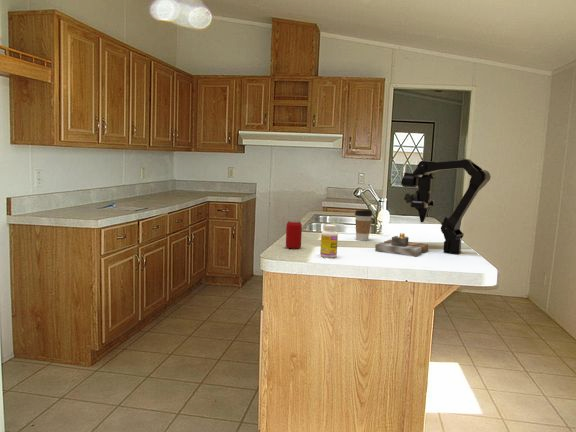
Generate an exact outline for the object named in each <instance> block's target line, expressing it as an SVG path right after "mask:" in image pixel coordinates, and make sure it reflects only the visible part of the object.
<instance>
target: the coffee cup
mask: <svg viewBox="0 0 576 432" xmlns="http://www.w3.org/2000/svg"><path fill="white" fill-rule="evenodd" d="M372 212H373V211H372V210H371V209H359V210H358V209H357V210H355V213H354V216H355V238H356V239H355V240H356V241H360V242H368V241H369V237H370V231H371V230H370V229H371V223H372V217H373V213H372Z"/></svg>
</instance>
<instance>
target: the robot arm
mask: <svg viewBox="0 0 576 432" xmlns="http://www.w3.org/2000/svg"><path fill="white" fill-rule="evenodd" d="M457 169H464V170H465V172H466V173H467V174H468V175H469V176H470V179H469V182H468V187H467V189H466V191H465V193H464V195H463V196H462V198H461V199H460V201H459V202H458V205H457V206H456V207H455V209H454V211H453V213H452V214H451V215H449V216H445V217H444V219H443V221H442V223H440V225H441V226H440V232H441V233H442V234H443V237H444V241H443V248H442V249H443V253H447V254H454V255H460V254H461V253H462V239H463V237H464V232H462V230H461V229H460V227H461V225H462V219H463V217H464V216H465V214H466V213H467V211H468V209H469V208H470V206H471V205H472V203H473V201H474V199H475V198H476V196H477V195H478V193H479V192H480V191H481V190H482V188H484V187H485V186H486V185H487V184H488V182H489V181H490V180H491V173H490V172H489V171H488V170H486V169H483V168H482V167H480V166H479V165H477V163H474V162H473V161H472V159H470V158H463V159H457V160H447V161H446V160H443V161H433V160H432V161H431V160H421V161H419V162H418V164H417V166H416V169H414V171H413V172H404V173H403V176H402V178H401V182H400V183H401V186H402V187H403V188H414V189H415V188H417V190H416V191H415V193H413V194H411V193H410V192H409V193H408V192H407V193H405V196H404V198H403V200H404V201H405V203H406V204H410V208H415V209H416V211H418V215H419V220H420V223H424V222H425V220H426V218H427V216H428V214H429V213H430V210H431V209H432V207H435V206H436V201H435V200H434V199H431V194H432V193H433V191H432V190H431V188H432V180H434V179H435V180H436V179H437V177H436V176H435V175H434V174H433V173H435V172H439V171H444V170H457ZM431 206H432V207H431Z"/></svg>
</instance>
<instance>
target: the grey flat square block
mask: <svg viewBox="0 0 576 432" xmlns="http://www.w3.org/2000/svg"><path fill="white" fill-rule="evenodd" d="M397 237H399V236H398V235H395V236H392V237H391V239H388V240H385V241H381V242H379V243H376V244H375V249H374V251H375V252H377V253H384V254H385V253H386V254H394V255H400V256H409V257H418V256H420V255H422V254H425V253H426V252H428V251H429V243H421V242H411V241H409V239H410V238H409V236H406V238H397Z"/></svg>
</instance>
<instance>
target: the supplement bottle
mask: <svg viewBox="0 0 576 432" xmlns="http://www.w3.org/2000/svg"><path fill="white" fill-rule="evenodd" d="M323 225H324V226H323V228H324V230H323V231H321V235H320V254H319V255H320V257H322V258H328V259H333V258H334V259H335V258H336V257H337V256H338V240H339V239H338V238H339V237H338V236H339V233H338V232H337V231H336V229H337V226H336V224H328V223H327V224H323Z"/></svg>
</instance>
